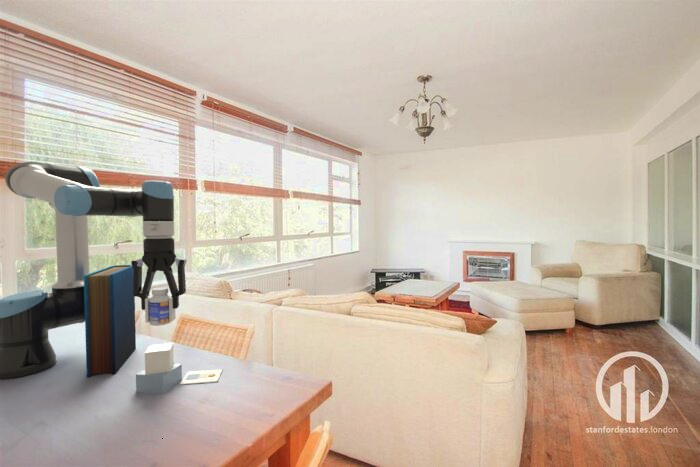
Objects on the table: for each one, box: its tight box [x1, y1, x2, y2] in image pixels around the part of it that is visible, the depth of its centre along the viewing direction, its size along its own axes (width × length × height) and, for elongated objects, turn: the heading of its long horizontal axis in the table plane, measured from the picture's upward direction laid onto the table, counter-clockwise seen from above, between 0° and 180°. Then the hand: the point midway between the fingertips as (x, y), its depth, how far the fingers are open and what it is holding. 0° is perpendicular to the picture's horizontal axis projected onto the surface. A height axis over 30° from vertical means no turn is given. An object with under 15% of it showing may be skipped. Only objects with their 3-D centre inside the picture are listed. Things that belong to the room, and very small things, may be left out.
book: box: [84, 264, 137, 378], centre depth 113 cm, size 24×9×30 cm, turn 18°
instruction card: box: [179, 368, 223, 386], centre depth 102 cm, size 10×8×1 cm
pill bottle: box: [149, 287, 172, 327], centre depth 96 cm, size 5×5×10 cm
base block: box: [135, 363, 183, 395], centre depth 96 cm, size 8×8×5 cm
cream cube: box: [144, 342, 174, 375], centre depth 96 cm, size 6×6×6 cm
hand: (160, 320), depth 96 cm, fingers closed on pill bottle, 5 cm apart
